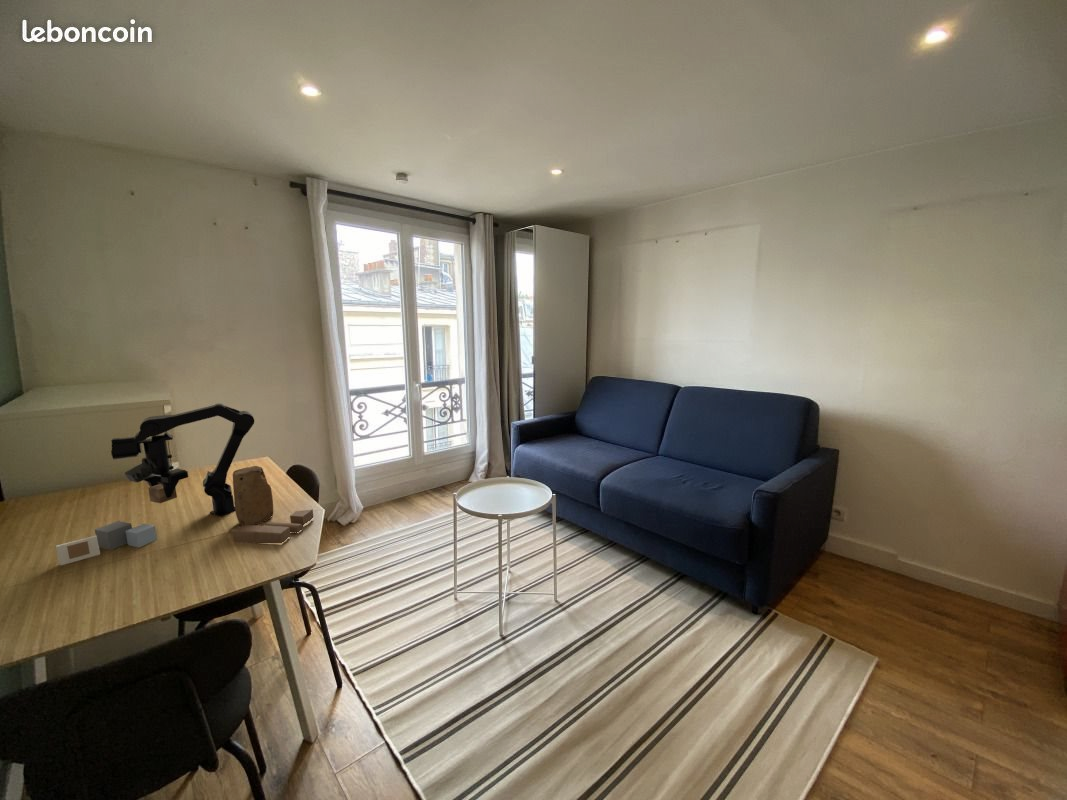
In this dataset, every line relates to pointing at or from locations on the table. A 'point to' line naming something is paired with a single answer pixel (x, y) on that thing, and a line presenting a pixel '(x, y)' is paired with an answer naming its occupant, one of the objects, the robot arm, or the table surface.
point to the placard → (78, 550)
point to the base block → (112, 535)
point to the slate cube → (141, 535)
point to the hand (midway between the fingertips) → (163, 496)
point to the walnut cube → (159, 494)
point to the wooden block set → (272, 529)
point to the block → (252, 496)
